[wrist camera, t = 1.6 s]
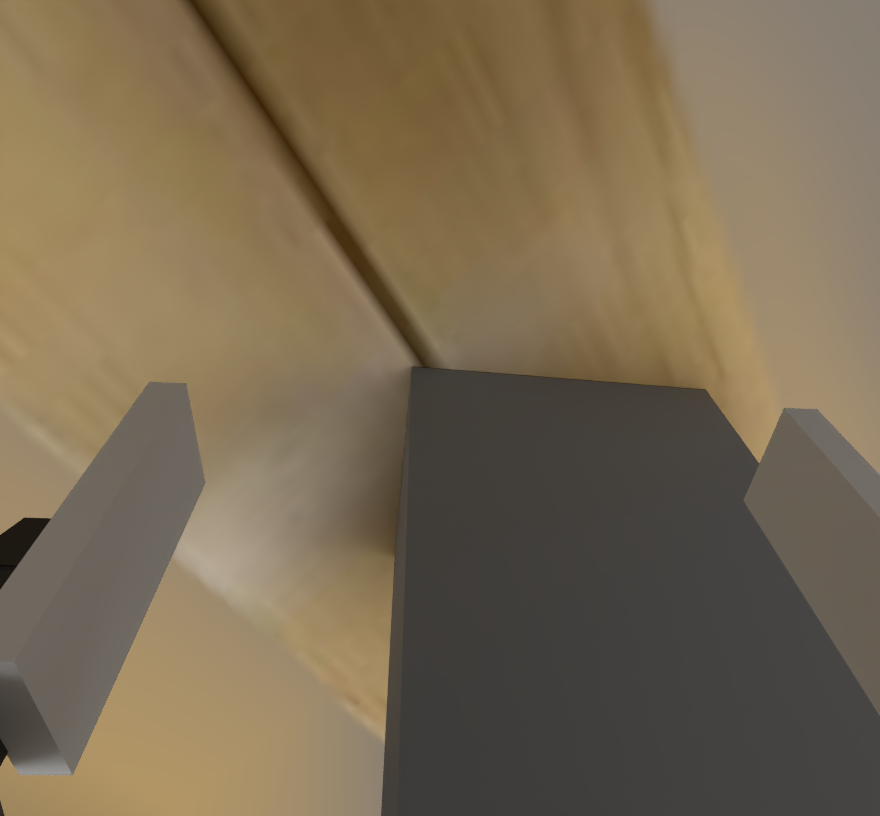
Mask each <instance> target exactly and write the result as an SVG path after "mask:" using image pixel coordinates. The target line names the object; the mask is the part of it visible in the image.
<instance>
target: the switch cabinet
mask: <svg viewBox="0 0 880 816" xmlns="http://www.w3.org/2000/svg"><path fill="white" fill-rule="evenodd" d="M758 466H759V463H758V461H757V460H756V459H755V457H754V456H753V454H752V453H751V452H750V450H749V449H748V447H747V446H746V445H745V443H744V442H743V441H742V439H741V438H740V436H739V435H738V434H737V432H736V431H735V430H734V428H733V427H732V425H731V424H730V423H729V421H728V420H727V418H726V417H725V416H724V414H723V413H722V412H721V410H720V409H719V407H718V406H717V405H716V403H715V402H714V401H713V399H712V398H711V396H710V395H709V394H708V392H707V391H706V390H700V389H688V388H675V387H662V386H650V385H637V384H625V383H612V382H599V381H587V380H574V379H561V378H549V377H536V376H523V375H511V374H498V373H486V372H473V371H460V370H448V369H435V368H422V367H412V370H411V381H410V393H409V404H408V415H407V426H406V437H405V448H404V459H403V470H402V482H401V493H400V504H399V515H398V526H397V537H396V548H395V561H394V580H393V599H392V619H391V638H390V657H389V676H388V695H387V714H386V733H385V753H384V772H383V791H382V792H383V793H382V810H381V816H880V715H879V714H878V712H877V711H876V709H875V708H874V706H873V704H872V703H871V701H870V700H869V698H868V697H867V695H866V693H865V692H864V690H863V689H862V687H861V685H860V684H859V682H858V681H857V679H856V678H855V676H854V674H853V673H852V671H851V670H850V668H849V667H848V665H847V663H846V662H845V660H844V659H843V657H842V656H841V654H840V652H839V651H838V649H837V648H836V646H835V644H834V643H833V641H832V640H831V638H830V637H829V635H828V633H827V632H826V630H825V629H824V627H823V626H822V624H821V622H820V621H819V619H818V618H817V616H816V614H815V613H814V611H813V610H812V608H811V607H810V605H809V603H808V602H807V600H806V599H805V597H804V596H803V594H802V592H801V591H800V589H799V588H798V586H797V584H796V583H795V581H794V580H793V578H792V577H791V575H790V573H789V572H788V570H787V569H786V567H785V566H784V564H783V562H782V561H781V559H780V558H779V556H778V555H777V553H776V551H775V550H774V548H773V547H772V545H771V543H770V542H769V540H768V539H767V537H766V536H765V534H764V532H763V531H762V529H761V528H760V526H759V525H758V523H757V521H756V520H755V518H754V517H753V515H752V513H751V512H750V510H749V509H748V507H747V506H746V504H745V502H744V501H743V500H744V498H745V496H746V494H747V491H748V489H749V487H750V484H751V482H752V480H753V478H754V475H755V473H756V471H757V469H758Z"/></svg>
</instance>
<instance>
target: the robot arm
mask: <svg viewBox="0 0 880 816" xmlns="http://www.w3.org/2000/svg"><path fill="white" fill-rule="evenodd" d="M204 484H205V479H204V474H203V469H202V464H201V458H200V453H199V448H198V443H197V438H196V432H195V427H194V422H193V417H192V412H191V406H190V401H189V396H188V391H187V385H186V383H163V382H149V383H148V385H147V386H146V387H145V389H144V390H143V392H142V393H141V394H140V396H139V397H138V398H137V400H136V401H135V403H134V404H133V405H132V407H131V408H130V410H129V411H128V412H127V414H126V415H125V417H124V418H123V419H122V421H121V422H120V424H119V425H118V426H117V428H116V429H115V431H114V432H113V433H112V435H111V436H110V438H109V439H108V440H107V442H106V443H105V444H104V446H103V447H102V449H101V450H100V451H99V453H98V454H97V456H96V457H95V458H94V460H93V461H92V463H91V464H90V465H89V467H88V468H87V470H86V471H85V472H84V474H83V475H82V477H81V478H80V479H79V481H78V482H77V484H76V485H75V486H74V488H73V489H72V490H71V492H70V493H69V495H68V496H67V497H66V499H65V501H64V502H63V503H62V504H61V506H60V507H59V509H58V510H57V511H56V513H55V514H54V516H53V517H52V518H51V519H48V518H23V519H22V520H21V521H19V522H18V523H16V524H15V525H14V526H12V527H11V528H9V529H8V530H7V531H5V532H4V533H2V534H1V535H0V766H1V764H2V762H3V760H4V758H5V757H6V755H7V756H8V757H9V759H10V761H11V762H12V764H13V765H14V767H15V769H16V770H17V772H18V773H19V775H73V773H74V771H75V769H76V766H77V764H78V762H79V760H80V758H81V756H82V753H83V751H84V749H85V747H86V745H87V742H88V740H89V738H90V736H91V734H92V731H93V729H94V727H95V725H96V723H97V720H98V718H99V716H100V714H101V712H102V709H103V707H104V705H105V703H106V700H107V698H108V696H109V694H110V692H111V689H112V687H113V685H114V683H115V681H116V678H117V676H118V674H119V672H120V670H121V667H122V665H123V663H124V661H125V659H126V656H127V654H128V652H129V650H130V647H131V645H132V643H133V641H134V639H135V637H136V634H137V632H138V630H139V628H140V625H141V623H142V621H143V619H144V617H145V614H146V612H147V610H148V608H149V606H150V603H151V601H152V599H153V596H154V594H155V592H156V590H157V588H158V585H159V584H160V581H161V579H162V577H163V575H164V572H165V570H166V568H167V566H168V563H169V561H170V559H171V557H172V555H173V553H174V550H175V548H176V546H177V544H178V542H179V539H180V537H181V535H182V533H183V531H184V528H185V526H186V524H187V522H188V520H189V517H190V515H191V513H192V511H193V509H194V506H195V504H196V502H197V500H198V497H199V495H200V493H201V491H202V489H203V486H204ZM743 501H744V502H745V504H746V506H747V507H748V509H749V510H750V512H751V513H752V515H753V517H754V518H755V520H756V521H757V523H758V525H759V526H760V528H761V529H762V531H763V532H764V534H765V536H766V537H767V539H768V540H769V542H770V543H771V545H772V547H773V548H774V550H775V551H776V553H777V555H778V556H779V558H780V559H781V561H782V562H783V564H784V566H785V567H786V569H787V570H788V572H789V573H790V575H791V577H792V578H793V580H794V581H795V583H796V584H797V586H798V588H799V589H800V591H801V592H802V594H803V596H804V597H805V599H806V600H807V602H808V603H809V605H810V607H811V608H812V610H813V611H814V613H815V614H816V616H817V618H818V619H819V621H820V622H821V624H822V626H823V627H824V629H825V630H826V632H827V633H828V635H829V637H830V638H831V640H832V641H833V643H834V644H835V646H836V648H837V649H838V651H839V652H840V654H841V656H842V657H843V659H844V660H845V662H846V663H847V665H848V667H849V668H850V670H851V671H852V673H853V674H854V676H855V678H856V679H857V681H858V682H859V684H860V685H861V687H862V689H863V690H864V692H865V693H866V695H867V697H868V698H869V700H870V701H871V703H872V704H873V706H874V708H875V709H876V711H877V712H878V714H879V715H880V475H879V474H878V473H877V472H876V471H875V469H873V467H872V466H871V465H870V464H869V463H868V462H867V461H866V460H865V459H864V458H863V457H862V456H861V455H860V454H859V453H858V452H857V451H856V450H855V449H854V447H853V446H852V445H851V444H850V443H849V442H848V441H847V440H846V439H845V438H844V437H843V436H842V435H841V434H840V433H839V432H838V431H837V430H836V429H835V428H834V427H833V425H831V423H830V422H829V421H828V420H827V419H826V418H825V417H824V416H823V415H822V414H821V413H820V412H819V411H818V410H817V409H795V408H784V409H783V412H782V414H781V416H780V418H779V421H778V423H777V425H776V428H775V430H774V432H773V434H772V437H771V439H770V441H769V444H768V446H767V448H766V450H765V453H764V455H763V457H762V459H761V462H760V464H759V466H758V469H757V471H756V473H755V475H754V478H753V480H752V482H751V484H750V487H749V489H748V491H747V494H746V496H745V498H744V500H743ZM0 816H4V813H3V809H2V806H1V802H0Z"/></svg>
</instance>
